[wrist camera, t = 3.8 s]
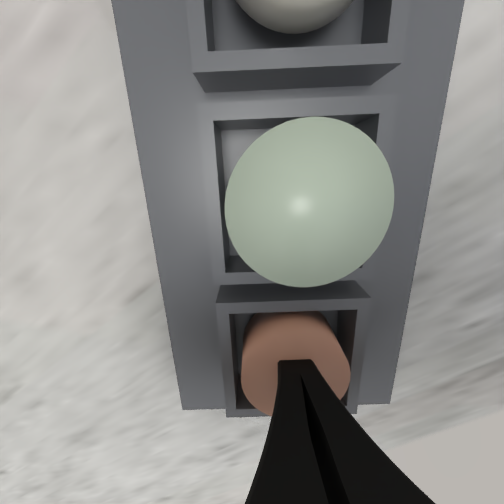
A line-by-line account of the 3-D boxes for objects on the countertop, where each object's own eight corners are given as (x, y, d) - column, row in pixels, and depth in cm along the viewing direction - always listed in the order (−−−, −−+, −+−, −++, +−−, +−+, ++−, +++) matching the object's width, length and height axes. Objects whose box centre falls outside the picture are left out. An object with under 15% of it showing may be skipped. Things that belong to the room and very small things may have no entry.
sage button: (362, 129, 8) (407, 112, 6) (350, 256, 9) (382, 284, 7) (227, 134, 8) (217, 120, 6) (235, 260, 9) (230, 289, 7)
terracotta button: (334, 299, 11) (355, 332, 9) (329, 374, 13) (345, 418, 10) (240, 303, 11) (237, 335, 9) (245, 376, 13) (243, 421, 11)
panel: (468, -195, 8) (624, -459, 5) (377, 382, 16) (411, 440, 12) (100, -173, 8) (-5, -413, 5) (188, 388, 16) (172, 446, 12)
